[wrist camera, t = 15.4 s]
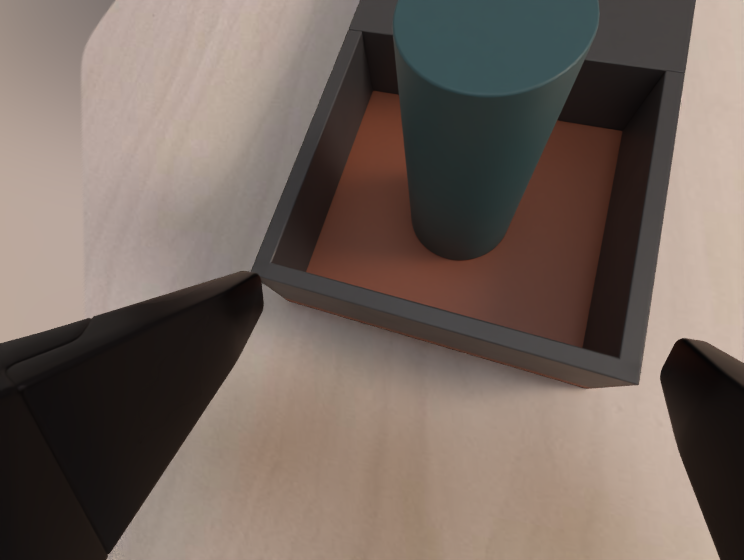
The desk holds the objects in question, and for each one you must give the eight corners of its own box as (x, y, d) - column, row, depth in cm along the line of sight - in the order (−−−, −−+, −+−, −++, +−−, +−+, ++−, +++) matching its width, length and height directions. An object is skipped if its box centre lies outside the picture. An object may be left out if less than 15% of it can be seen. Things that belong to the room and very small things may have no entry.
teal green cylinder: (530, 220, 21) (648, 10, 10) (453, 280, 21) (481, 133, 9) (465, 156, 23) (500, -89, 11) (392, 210, 22) (353, 13, 11)
